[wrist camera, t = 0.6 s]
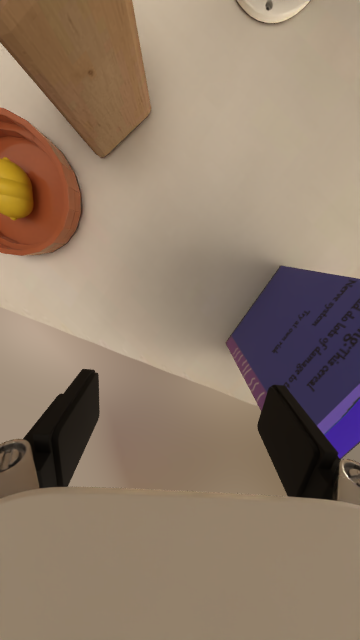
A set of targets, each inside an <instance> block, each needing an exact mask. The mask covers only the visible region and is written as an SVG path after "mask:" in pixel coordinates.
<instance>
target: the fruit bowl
mask: <svg viewBox="0 0 360 640" xmlns="http://www.w3.org/2000/svg"><path fill="white" fill-rule="evenodd" d="M3 157H7V158H8V159H9V160H10V161H11V162H13V163H15V164H17V165H18V166H19V167H21V168H22V169H23V170H24V171H25V173H26V174H27V176H28V177H29V179H30V181H31V185H32V192H33V210H32V212H31V213H30V214H29V215H28V216H26V217H24V218H18V219H17V220H12V219H11V218H10V217H8V216H5V215H3V214H1V213H0V252H1V253H5V254H13V255H20V256H24V255H40V254H45V253H50V252H54V251H55V250H57V249H58V248H60V247H62V246H63V245H65V244H66V243H67V242H68V241H69V239H70V238H71V236H72V235H73V234H74V232H75V231H76V229H77V225H78V222H79V218H80V215H81V198H80V190H79V187H78V184H77V180H76V177H75V174H74V172H73V170H72V168H71V167H70V165H69V163H68V162H67V160H66V158H65V157H64V155H63V153H62V152H61V151H60V150H59V149H58V148H57V147H56V146H55V145H54V144H53V143H52V142H51V141H50V140H49V139H48V138H47V137H45V136H44V135H43V134H42V133H41V132H40V131H38V130H37V129H36V128H35V127H34V126H33V125H31V124H30V123H29V122H28V121H27V120H25V119H23V118H21V117H19V116H17V115H16V114H14V113H12V112H10V111H8V110H6V109H4V108H0V159H3Z"/></svg>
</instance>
